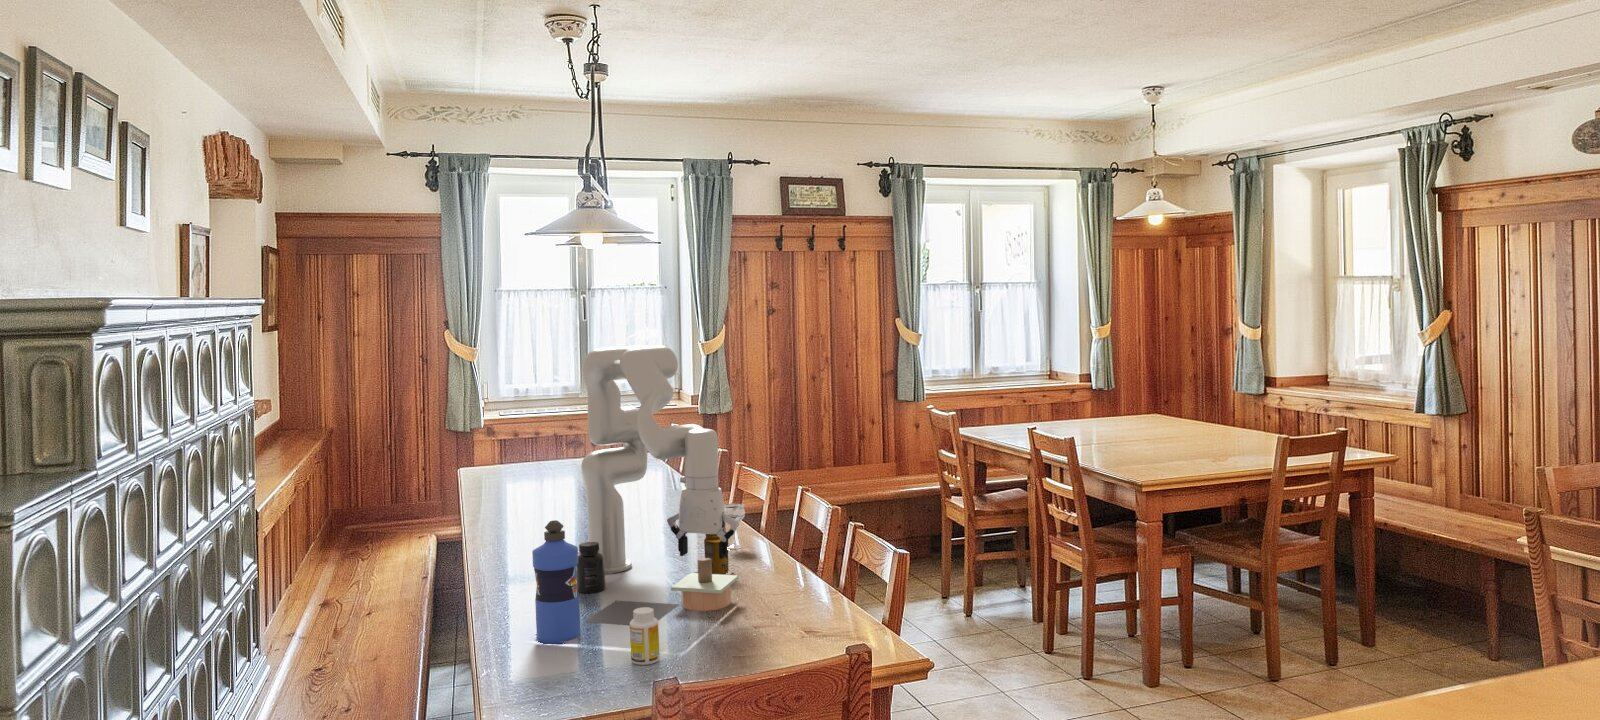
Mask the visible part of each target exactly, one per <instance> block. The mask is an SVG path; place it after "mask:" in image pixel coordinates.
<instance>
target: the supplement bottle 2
mask: <svg viewBox="0 0 1600 720" xmlns="http://www.w3.org/2000/svg"><path fill="white" fill-rule="evenodd" d="M659 635H660V634H659V620H657V619H656V618H655V617H654V610H653V609H652V608H649V607H642V608H637V609H635V610H634V611H633V619H632V620H631V621H630V625H629V639H630V657H631V662H632V663H633V664H634V665H639V666H647V665H652V664H655V663H657V662H658V661H659V660H660V636H659Z"/></svg>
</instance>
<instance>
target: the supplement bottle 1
mask: <svg viewBox="0 0 1600 720" xmlns="http://www.w3.org/2000/svg"><path fill="white" fill-rule="evenodd" d="M599 550H600V549H599V543H598V542H588V541H585V542H582V543H579V545H578V551H579V553H580V555H578V565H577V579H576V583H577V588H578V594H580V595H581V594H583V595H592V594H599V593H602V592H605V590H606V576H605V575H606V574H605V570H604V557H603V555H602V554H601V553H599Z"/></svg>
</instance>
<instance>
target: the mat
mask: <svg viewBox="0 0 1600 720" xmlns="http://www.w3.org/2000/svg"><path fill="white" fill-rule="evenodd" d="M679 605H680V604H678V603H677V604H676V603H665V602H664V603H663V602H662V603H661V602H646V601H645V602H644V601H630V600H629V601H628V600H614V601H612V602H611V603H609V604H608V605H606V606H605V607H603V608H602V609H600V610H599V611H597V612H596V613H594V614H593V615H592V616H591V615H590V617H589V618H587V619H585V620H584V621H583V623H590V624H591V623H592V624H605V625H607V624H608V625H619V626H630V621H631V620H632V619H633V611H634V610H635V609H637V608H642V607H649V608H652V609H653V610H654V617H655V618H656V619H657V620H658V621H660V620H661V619H663V618H664V617H665V616H666V615H668V614H669V613H671V611H672V610H674V609H676V607H678V606H679Z"/></svg>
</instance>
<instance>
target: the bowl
mask: <svg viewBox="0 0 1600 720" xmlns="http://www.w3.org/2000/svg"><path fill="white" fill-rule="evenodd" d="M731 589H732V588H731V585H730V586H729V587H728V588H727V589H726V590H724V591H723V592H722V593H704V592H687V591H680V593H681V605H682V608H684V609H687V610H689V611H694V612H695V611H697V612H708V611H717V610H721V609H723V608H726V607H729V605H730V604H732V596H731V595H732V594H731V593H732V591H731Z"/></svg>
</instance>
